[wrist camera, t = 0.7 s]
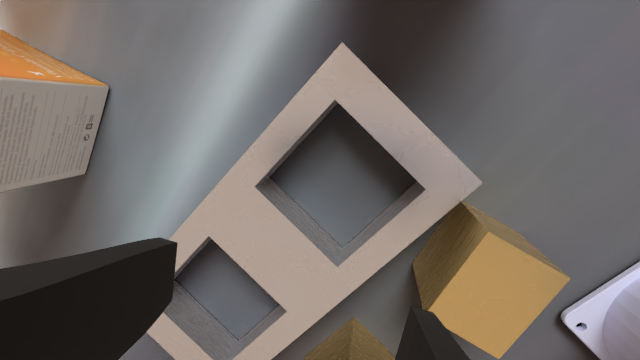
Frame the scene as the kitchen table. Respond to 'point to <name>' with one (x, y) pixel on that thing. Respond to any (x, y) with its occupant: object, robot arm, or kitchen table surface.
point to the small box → (44, 116)
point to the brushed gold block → (350, 345)
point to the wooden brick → (484, 279)
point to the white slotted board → (307, 218)
